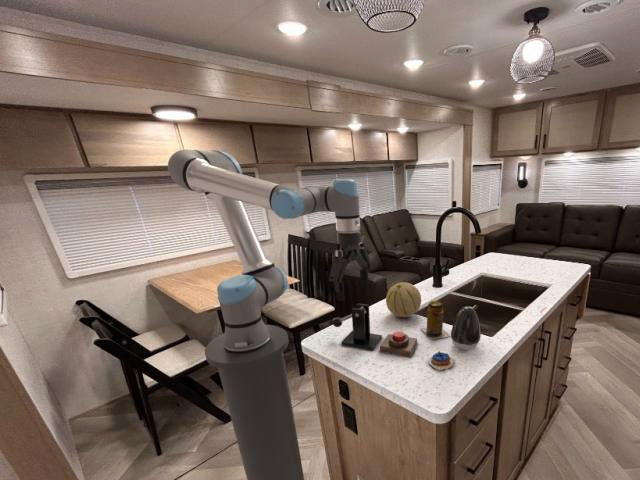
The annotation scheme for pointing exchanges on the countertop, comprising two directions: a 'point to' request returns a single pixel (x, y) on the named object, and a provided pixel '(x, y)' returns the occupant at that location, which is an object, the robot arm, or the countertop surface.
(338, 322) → the lever
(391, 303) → the cantaloupe
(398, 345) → the button block
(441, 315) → the condiment
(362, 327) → the bracket
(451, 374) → the countertop surface
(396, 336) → the button
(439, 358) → the dessert
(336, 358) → the countertop surface
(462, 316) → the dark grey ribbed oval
